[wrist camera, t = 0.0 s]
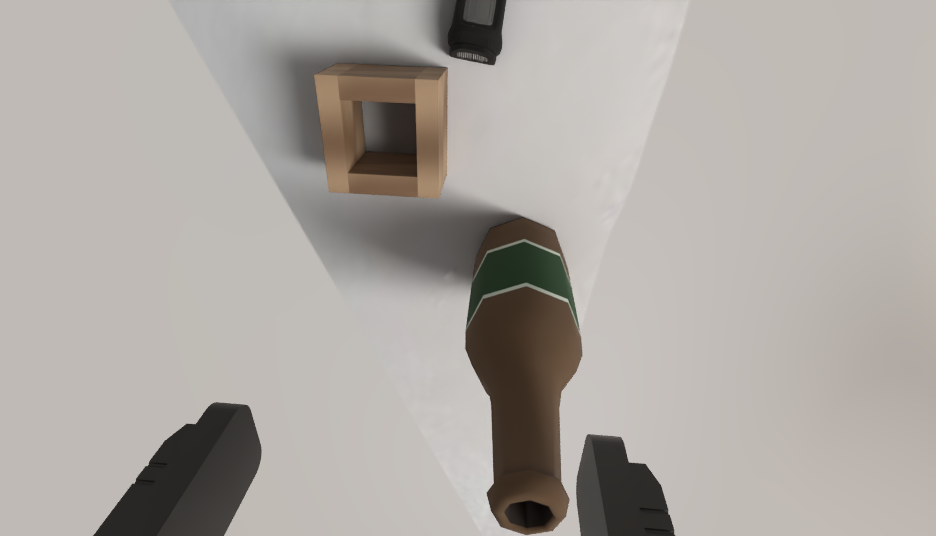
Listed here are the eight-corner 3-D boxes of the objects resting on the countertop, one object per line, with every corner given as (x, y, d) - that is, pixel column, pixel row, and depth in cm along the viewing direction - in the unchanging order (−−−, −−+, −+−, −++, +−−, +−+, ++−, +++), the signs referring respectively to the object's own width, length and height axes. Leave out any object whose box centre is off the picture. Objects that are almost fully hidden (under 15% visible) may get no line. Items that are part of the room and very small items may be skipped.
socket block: (338, 63, 35) (314, 74, 31) (447, 67, 35) (438, 80, 30) (349, 168, 39) (329, 191, 35) (446, 174, 39) (438, 198, 34)
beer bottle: (524, 196, 39) (537, 433, 19) (584, 257, 42) (654, 526, 21) (457, 252, 42) (406, 508, 22) (517, 306, 45) (521, 582, 24)
